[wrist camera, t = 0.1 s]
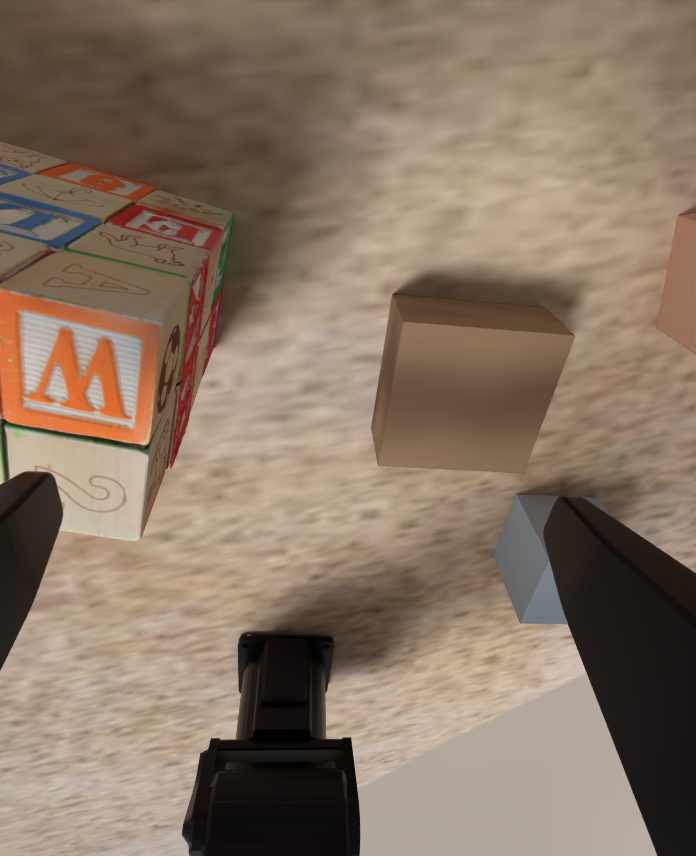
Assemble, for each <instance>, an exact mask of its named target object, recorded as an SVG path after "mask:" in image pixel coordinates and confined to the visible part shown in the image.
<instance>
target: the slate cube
mask: <svg viewBox="0 0 696 856" xmlns="http://www.w3.org/2000/svg"><path fill="white" fill-rule="evenodd" d="M558 497H559V496H549V495H527V494H516V496H515V498H514V501H513V504H512V506H511V509H510V512H509V514H508V517H507V520H506V522H505V525H504V528H503V530H502V533H501V536H500V538H499V541H498V544H497V546H496V549H495V552H494V554H493V556H494V558H495V561H496V563H497V566H498V568H499V571H500V573H501V576H502V578H503V581H504V584H505V586H506V589H507V591H508V594H509V596H510V599H511V601H512V604H513V607H514V609H515V612H516V614H517V617H518V619H519V622H520V623H531V624H568V623H567V620H566V618H565V615H564V612H563V609H562V605H561V602H560V598H559V595H558V591H557V587H556V584H555V580H554V576H553V572H552V569H551V565H550V561H549V557H548V554H547V550H546V546H545V543H544V538H543V530H544V526H545V523H546V521H547V519H548V517H549V514H550V512H551V510H552V507H553V505H554V503H555V501H556V499H557V498H558ZM583 498H585V499H586V500H588V501H589V502H591V503H592V504H594V505H595V506H597V507H598V508H600V509H601V510H603V511H604V512H606V513H607V514H609V512H608V511H607V509H606V508H605V507H604V505H603V504H602V502H601V501H600V500H599V498H593V497H583ZM609 515H610V514H609ZM610 516H611V515H610Z"/></svg>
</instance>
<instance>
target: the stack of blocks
mask: <svg viewBox="0 0 696 856" xmlns="http://www.w3.org/2000/svg"><path fill="white" fill-rule="evenodd" d="M233 218H234V213H232V212H231V211H228V210H224V209H221V208H217V207H214V206H211V205H207V204H204V203H200V202H197V201H194V200H190V199H187V198H183V197H180V196H177V195H173V194H170V193H167V192H163V191H160V190H157V189H156V188H154V187H153V186H151V185H147V184H144V183H140V182H137V181H133V180H130V179H127V178H123V177H120V176H116V175H113V174H109V173H106V172H102V171H99V170H96V169H92V168H89V167H86V166H82V165H79V164H75V163H70V162H67V161H65V160H62V159H58V158H55V157H52V156H49V155H46V154H43V153H39V152H36V151H32V150H29V149H25V148H22V147H18V146H15V145H11V144H8V143H4V142H1V141H0V484H2V483H4V482H6V481H7V480H9V479H11V478H13V477H15V476H16V475H18V474H20V473H22V472H25V471H41V472H49V473H51V474H53V476H54V477H55V480H56V483H57V487H58V491H59V495H60V498H61V502H62V506H63V520H62V524H61V526H60V529H59V530H60V531H67V532H73V533H80V534H87V535H93V536H100V537H106V538H113V539H119V540H125V541H138V540H139V539H140V538H141V537H142V535H143V532H144V529H145V526H146V523H147V521H148V518H149V515H150V512H151V510H152V507H153V504H154V501H155V499H156V496H157V493H158V490H159V488H160V485H161V482H162V480H163V476H164V473H165V470H166V469H171V468H172V466H173V464H174V461H175V458H176V456H177V453H178V450H179V447H180V445H181V441H182V438H183V436H184V434H185V431H186V427H187V425H188V421H189V417H190V412H191V409H192V406H193V403H194V400H195V397H196V394H197V391H198V388H199V385H200V382H201V379H202V377H203V375H204V372H205V369H206V367H207V364H208V361H209V359H210V356H211V354H212V351H213V347H214V340H215V334H216V328H217V322H218V316H219V309H220V303H221V296H222V291H223V289H222V283H223V276H224V270H225V264H226V258H227V253H228V247H229V240H230V234H231V228H232V223H233Z"/></svg>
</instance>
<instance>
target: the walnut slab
mask: <svg viewBox="0 0 696 856" xmlns="http://www.w3.org/2000/svg"><path fill="white" fill-rule="evenodd" d="M574 337H575V335H574V334H573V333H572V332H571V331H569V330H568V329H567V328H566V327H565V326H564V325H563V324H562V323H561V322H560V321H559V320H558V319H556V318H555V317H554V316H553V315H552V314H551V313H550V312H549V311H548V310H547V309H546V308H544V307H532V306H521V305H509V304H498V303H486V302H475V301H464V300H452V299H441V298H429V297H418V296H406V295H395V294H392V300H391V306H390V312H389V319H388V325H387V331H386V338H385V344H384V350H383V357H382V363H381V369H380V376H379V382H378V388H377V395H376V401H375V407H374V414H373V420H372V426H371V429H372V435H373V440H374V446H375V452H376V457H377V463H378V466H389V467H410V468H430V469H450V470H470V471H490V472H510V473H524V470H525V468H526V465H527V462H528V460H529V457H530V454H531V452H532V449H533V446H534V444H535V441H536V438H537V436H538V433H539V431H540V428H541V425H542V423H543V420H544V417H545V415H546V412H547V409H548V407H549V404H550V401H551V399H552V396H553V393H554V391H555V388H556V385H557V383H558V380H559V377H560V375H561V372H562V369H563V367H564V364H565V361H566V359H567V356H568V353H569V351H570V348H571V345H572V343H573V340H574Z"/></svg>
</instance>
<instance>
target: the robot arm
mask: <svg viewBox="0 0 696 856" xmlns="http://www.w3.org/2000/svg"><path fill="white" fill-rule="evenodd" d="M62 520H63V506H62V502H61V498H60V495H59V491H58V487H57V483H56V480H55V477H54V476H53V474H51V473H49V472H41V471H25V472H22V473H20V474H18V475H16V476H15V477H13V478H11V479H9V480H7V481H6V482H4V483H2V484H0V670H1V668H2V666H3V664H4V662H5V660H6V658H7V656H8V654H9V652H10V650H11V648H12V646H13V644H14V642H15V640H16V638H17V636H18V634H19V632H20V629H21V627H22V625H23V623H24V621H25V619H26V617H27V615H28V613H29V611H30V608H31V606H32V604H33V602H34V599H35V597H36V594H37V592H38V589H39V586H40V583H41V580H42V578H43V575H44V572H45V569H46V566H47V563H48V561H49V558H50V555H51V552H52V549H53V546H54V543H55V541H56V538H57V535H58V532H59V529H60V526H61V524H62ZM543 538H544V543H545V546H546V550H547V554H548V557H549V561H550V565H551V569H552V572H553V576H554V580H555V584H556V587H557V591H558V595H559V598H560V602H561V605H562V609H563V612H564V615H565V618H566V620H567V623H568V626H569V628H570V631H571V634H572V636H573V639H574V641H575V644H576V646H577V649H578V652H579V654H580V657H581V659H582V662H583V665H584V667H585V670H586V672H587V675H588V677H589V680H590V683H591V685H592V687H593V690H594V693H595V695H596V698H597V701H598V703H599V706H600V709H601V711H602V714H603V716H604V719H605V721H606V724H607V727H608V729H609V732H610V734H611V737H612V739H613V742H614V745H615V747H616V750H617V752H618V755H619V758H620V760H621V763H622V765H623V768H624V770H625V773H626V776H627V778H628V781H629V783H630V786H631V788H632V791H633V794H634V796H635V799H636V802H637V804H638V807H639V809H640V812H641V814H642V817H643V819H644V822H645V825H646V827H647V830H648V833H649V835H650V837H651V840H652V843H653V845H654V848H655V851H656V853H657V856H696V573H695V572H693V571H692V570H690V569H689V568H687V567H686V566H684V565H683V564H681V563H680V562H678V561H677V560H675V559H674V558H672V557H671V556H669V555H668V554H666V553H665V552H663V551H662V550H660V549H659V548H657V547H656V546H655V545H653V544H652V543H650V542H649V541H647V540H646V539H644V538H643V537H641V536H640V535H638V534H637V533H635V532H634V531H632V530H631V529H629V528H628V527H626V526H625V525H623V524H622V523H620V522H619V521H617V520H616V519H614V518H613V517H612V516H610V515H609V514H607V513H606V512H604V511H603V510H601V509H600V508H598V507H597V506H595V505H594V504H592V503H591V502H589V501H588V500H586V499H585V498H583V497H580V496H566V495H563V496H559V497H558V498H557V499H556V501H555V503H554V505H553V507H552V510H551V512H550V514H549V517H548V519H547V521H546V523H545V526H544V530H543ZM333 648H334V641H333V639H332V638H330V637H299V636H242V637H240V638H239V642H238V676H239V692H240V693H241V699H240V708H239V716H238V724H237V733H236V740H220V738H211V740H210V745H209V748H208V750H206V751H204V752H202V753H200V759H199V765H198V771H197V776H196V781H195V786H194V789H193V793H192V796H191V800H190V803H189V806H188V810H187V813H186V817H185V820H184V824H183V830H182V836H183V837H184V839H185V840H186V842H187V843H188V845H189V855H191V856H359V854H360V814H359V813H360V812H359V800H358V791H357V783H356V775H355V766H354V758H353V750H352V741H351V737H343V738H342V739H326V707H325V693H326V692H327V688H328V681H329V674H330V668H331V661H332V655H333Z"/></svg>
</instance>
